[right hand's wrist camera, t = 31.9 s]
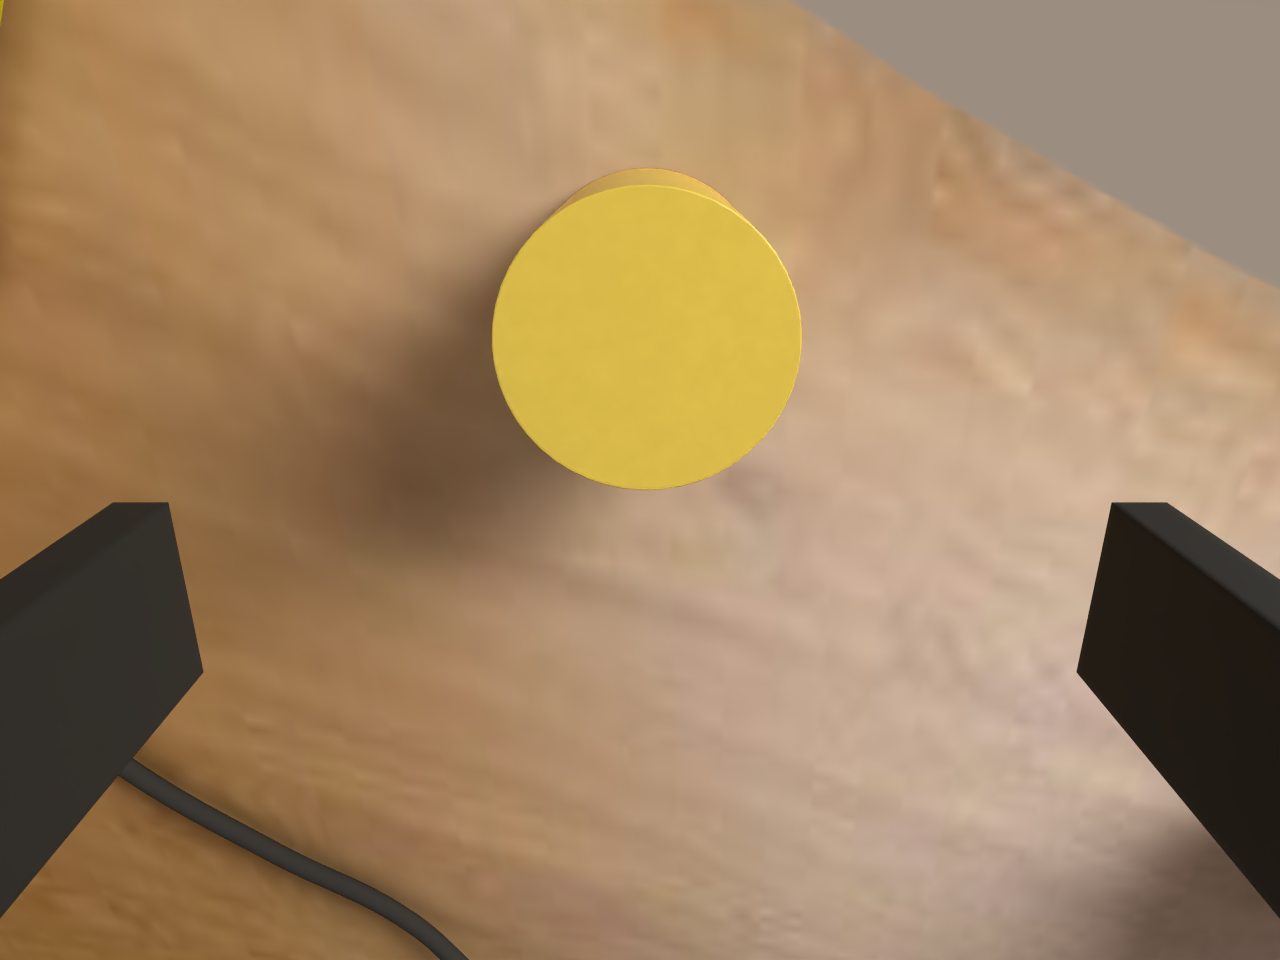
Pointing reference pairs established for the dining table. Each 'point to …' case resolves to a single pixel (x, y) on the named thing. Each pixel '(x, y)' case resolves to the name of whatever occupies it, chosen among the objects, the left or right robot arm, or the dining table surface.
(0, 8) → the pencil
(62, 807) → the right robot arm
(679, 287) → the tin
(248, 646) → the dining table surface
